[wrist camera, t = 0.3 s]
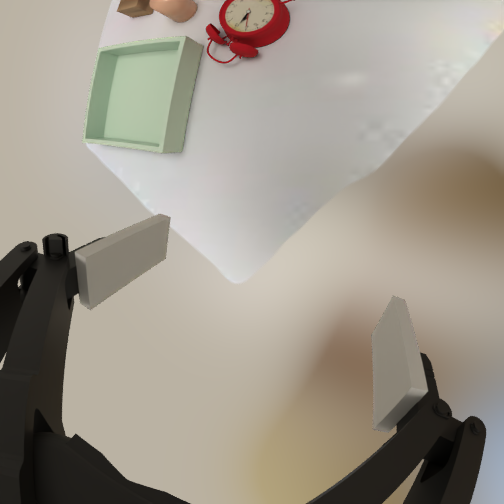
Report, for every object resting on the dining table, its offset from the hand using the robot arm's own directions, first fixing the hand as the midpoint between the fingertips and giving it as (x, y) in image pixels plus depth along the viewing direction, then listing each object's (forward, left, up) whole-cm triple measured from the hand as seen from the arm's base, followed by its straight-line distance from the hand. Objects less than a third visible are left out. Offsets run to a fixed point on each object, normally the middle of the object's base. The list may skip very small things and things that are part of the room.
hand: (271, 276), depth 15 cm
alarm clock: (-24, -16, -28) cm, 40 cm away
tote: (-11, -33, -27) cm, 44 cm away
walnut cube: (-31, -39, -28) cm, 57 cm away
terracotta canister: (-28, -29, -27) cm, 49 cm away
